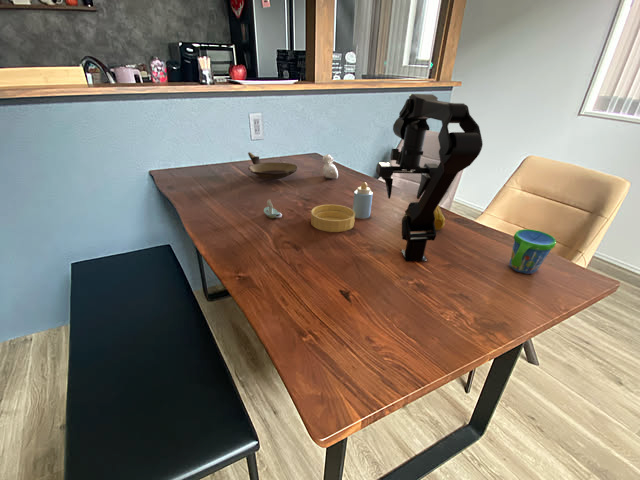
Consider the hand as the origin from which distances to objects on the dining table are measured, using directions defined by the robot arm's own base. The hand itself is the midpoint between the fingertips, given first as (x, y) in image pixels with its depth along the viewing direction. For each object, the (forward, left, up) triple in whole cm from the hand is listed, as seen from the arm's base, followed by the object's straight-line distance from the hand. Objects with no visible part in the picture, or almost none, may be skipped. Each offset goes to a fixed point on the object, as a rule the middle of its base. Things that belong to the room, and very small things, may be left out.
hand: (403, 198), depth 114 cm
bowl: (+10, +21, -13) cm, 27 cm away
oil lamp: (+67, +45, -13) cm, 82 cm away
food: (+14, -16, -13) cm, 25 cm away
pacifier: (+17, +42, -13) cm, 47 cm away
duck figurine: (+66, +18, -5) cm, 68 cm away
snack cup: (-21, -33, -13) cm, 41 cm away
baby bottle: (+18, +9, -13) cm, 24 cm away
